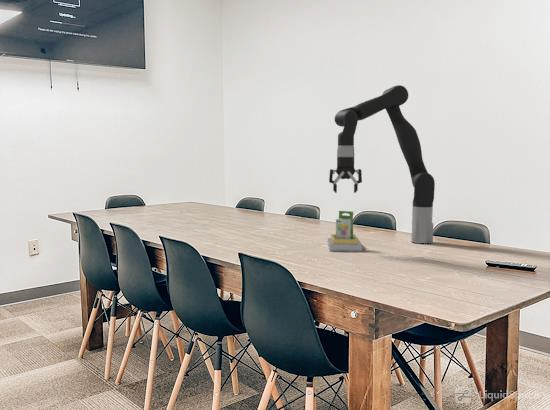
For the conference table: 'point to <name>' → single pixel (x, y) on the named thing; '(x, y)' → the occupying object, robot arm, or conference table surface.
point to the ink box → (344, 225)
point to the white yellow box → (344, 244)
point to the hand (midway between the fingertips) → (345, 192)
